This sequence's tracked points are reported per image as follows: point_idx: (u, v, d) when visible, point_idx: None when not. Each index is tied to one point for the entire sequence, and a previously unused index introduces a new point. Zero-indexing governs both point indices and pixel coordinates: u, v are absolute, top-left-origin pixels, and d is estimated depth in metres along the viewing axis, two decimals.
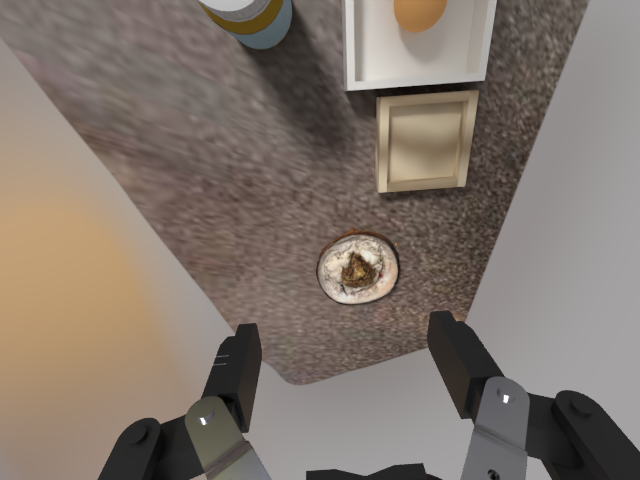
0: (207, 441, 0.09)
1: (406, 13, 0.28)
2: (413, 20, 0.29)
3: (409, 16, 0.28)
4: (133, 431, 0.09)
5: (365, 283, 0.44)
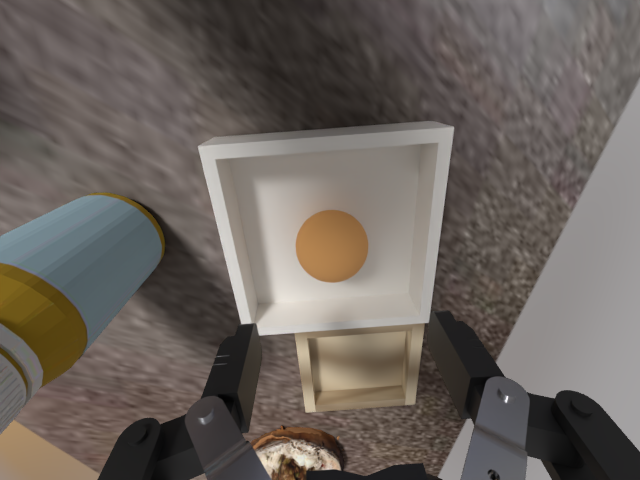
0: (207, 441, 0.09)
1: (309, 273, 0.20)
2: None
3: (313, 276, 0.20)
4: (133, 431, 0.09)
5: None
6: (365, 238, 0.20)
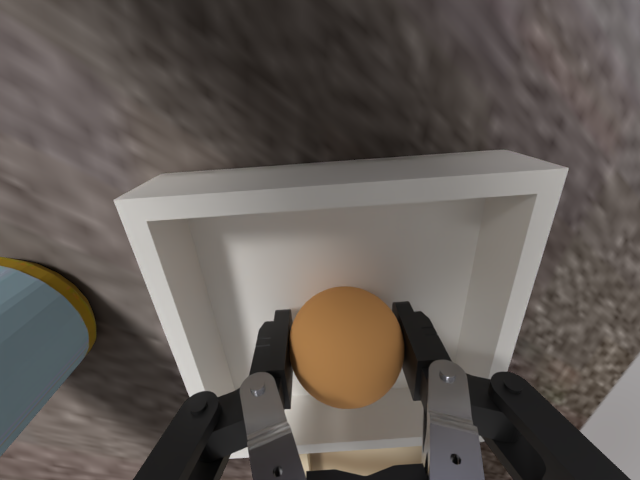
0: (264, 410, 0.09)
1: (309, 393, 0.12)
2: None
3: None
4: (195, 401, 0.10)
5: None
6: (401, 340, 0.12)
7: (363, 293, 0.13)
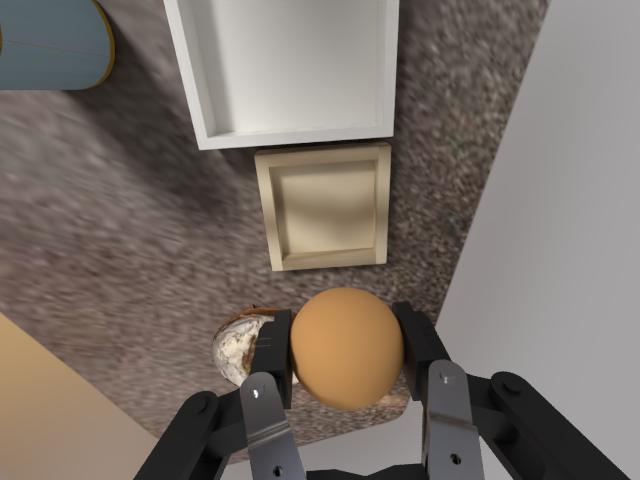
0: (264, 410, 0.09)
1: (309, 394, 0.12)
2: None
3: None
4: (196, 400, 0.10)
5: None
6: (401, 341, 0.12)
7: (363, 294, 0.13)
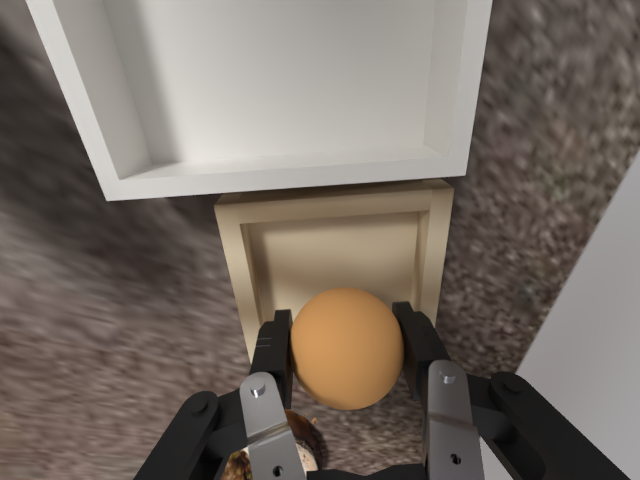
0: (264, 410, 0.09)
1: (309, 394, 0.12)
2: None
3: None
4: (195, 400, 0.10)
5: None
6: (401, 341, 0.12)
7: (363, 294, 0.13)
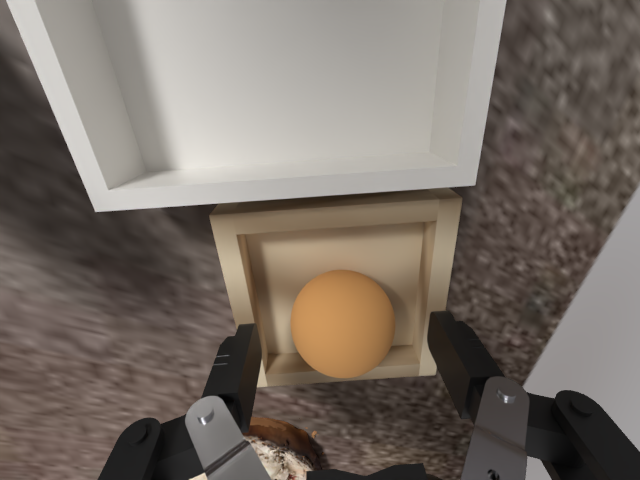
0: (207, 441, 0.09)
1: None
2: None
3: (316, 369, 0.14)
4: (133, 431, 0.09)
5: None
6: (392, 316, 0.13)
7: (358, 275, 0.14)
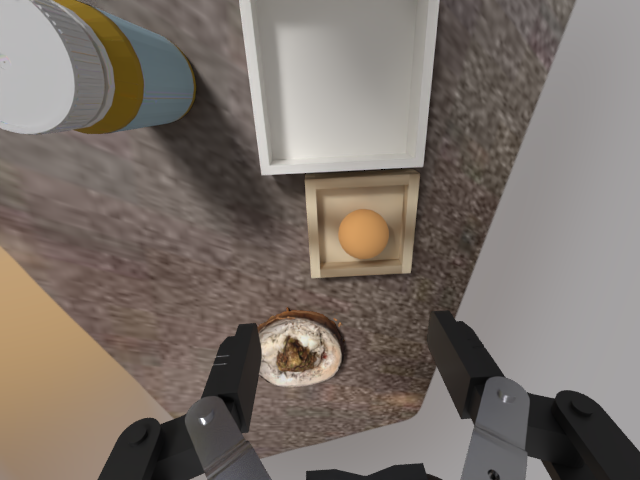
0: (207, 441, 0.09)
1: (348, 251, 0.29)
2: (355, 257, 0.29)
3: (351, 254, 0.29)
4: (132, 431, 0.09)
5: (303, 369, 0.38)
6: (387, 228, 0.29)
7: (371, 210, 0.29)
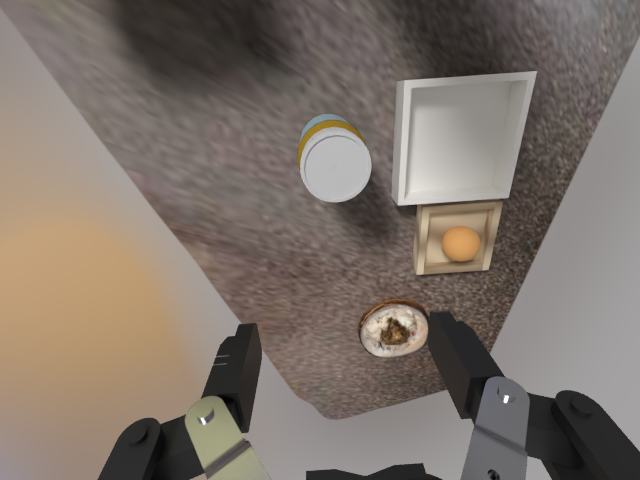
0: (207, 441, 0.09)
1: (451, 256, 0.42)
2: (456, 260, 0.42)
3: (453, 258, 0.42)
4: (133, 431, 0.09)
5: (401, 343, 0.51)
6: None
7: (467, 227, 0.42)
